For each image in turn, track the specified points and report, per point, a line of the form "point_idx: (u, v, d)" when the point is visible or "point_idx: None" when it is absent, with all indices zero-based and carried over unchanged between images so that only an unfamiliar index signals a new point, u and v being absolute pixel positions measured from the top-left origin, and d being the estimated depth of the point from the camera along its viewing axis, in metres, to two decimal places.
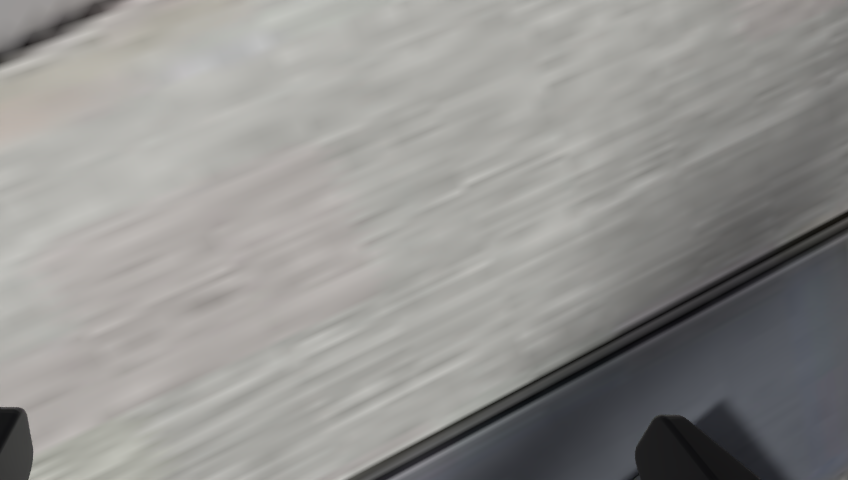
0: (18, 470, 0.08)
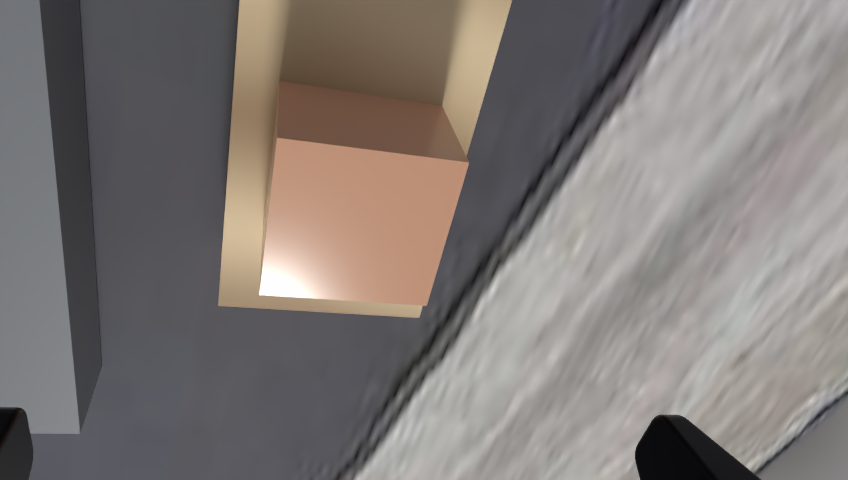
0: (18, 470, 0.08)
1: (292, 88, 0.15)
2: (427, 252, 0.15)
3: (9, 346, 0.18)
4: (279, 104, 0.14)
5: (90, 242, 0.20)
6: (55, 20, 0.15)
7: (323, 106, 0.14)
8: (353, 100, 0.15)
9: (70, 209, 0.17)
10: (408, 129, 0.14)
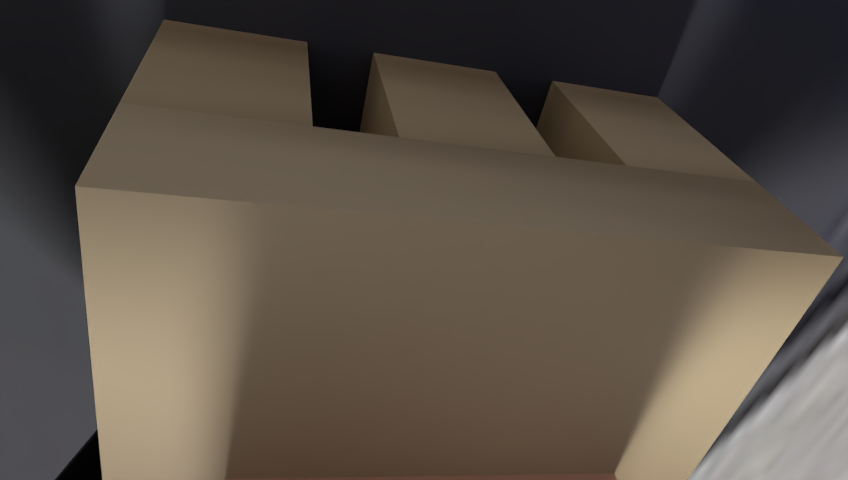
0: None
1: None
2: None
3: None
4: None
5: None
6: None
7: None
8: None
9: None
10: None
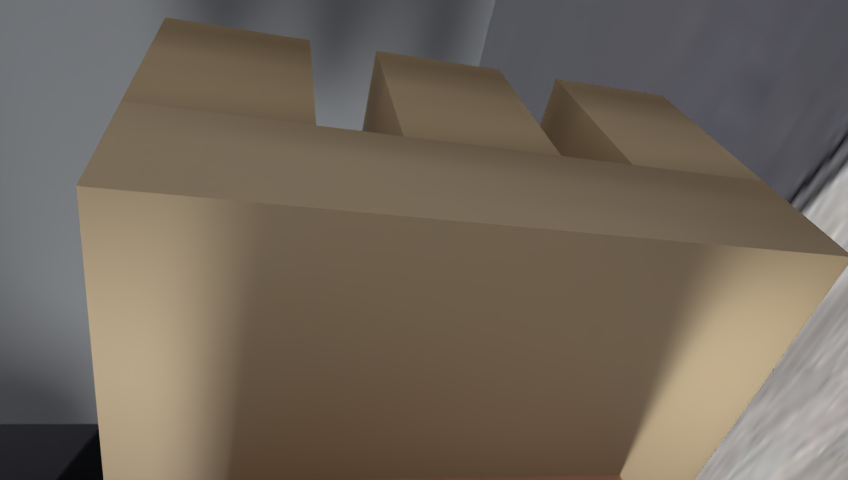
0: None
1: None
2: None
3: None
4: None
5: None
6: None
7: None
8: None
9: None
10: None
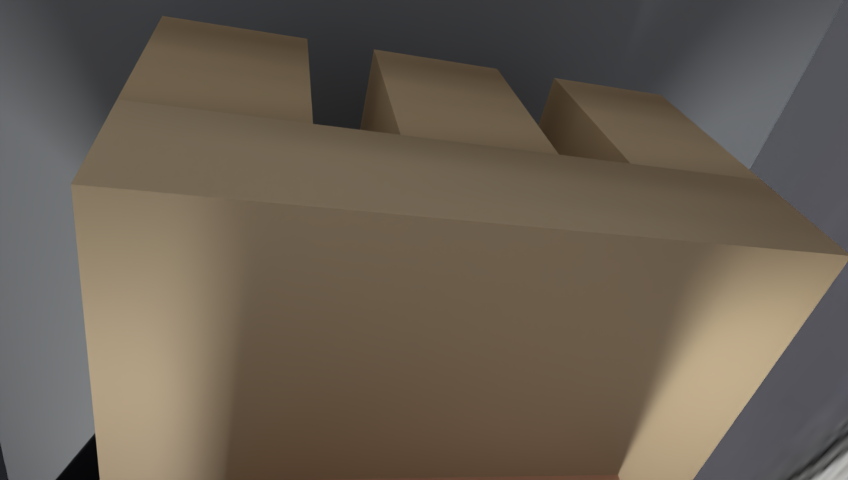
0: None
1: None
2: None
3: None
4: None
5: None
6: None
7: None
8: None
9: None
10: None
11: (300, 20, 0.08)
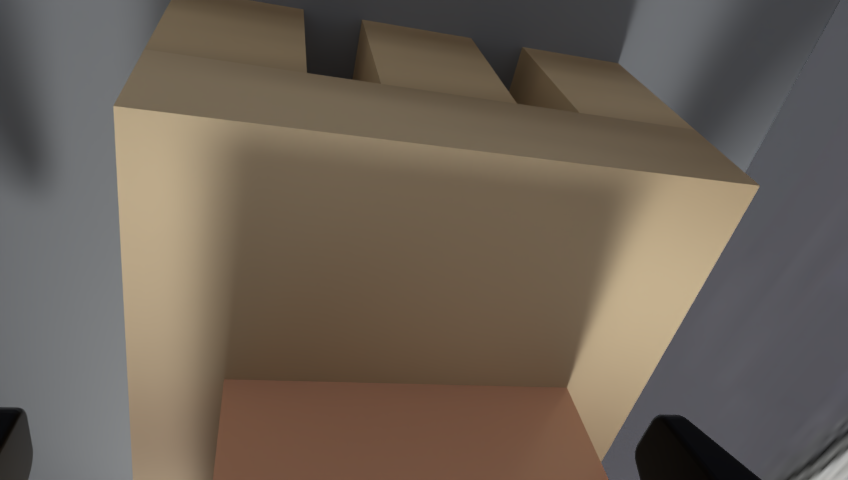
0: (18, 470, 0.08)
1: (253, 403, 0.07)
2: None
3: None
4: None
5: None
6: None
7: (322, 470, 0.06)
8: (388, 420, 0.07)
9: None
10: None
11: None
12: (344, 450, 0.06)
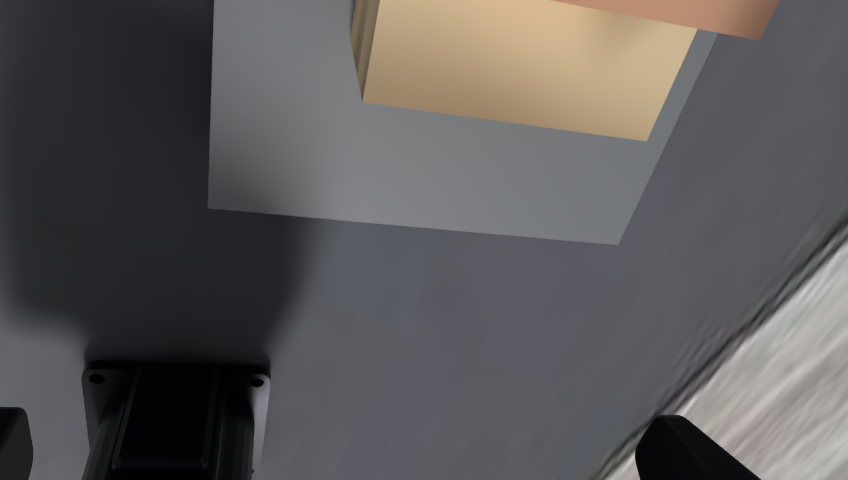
0: (18, 470, 0.08)
1: None
2: None
3: None
4: None
5: None
6: None
7: None
8: None
9: None
10: None
11: None
12: None
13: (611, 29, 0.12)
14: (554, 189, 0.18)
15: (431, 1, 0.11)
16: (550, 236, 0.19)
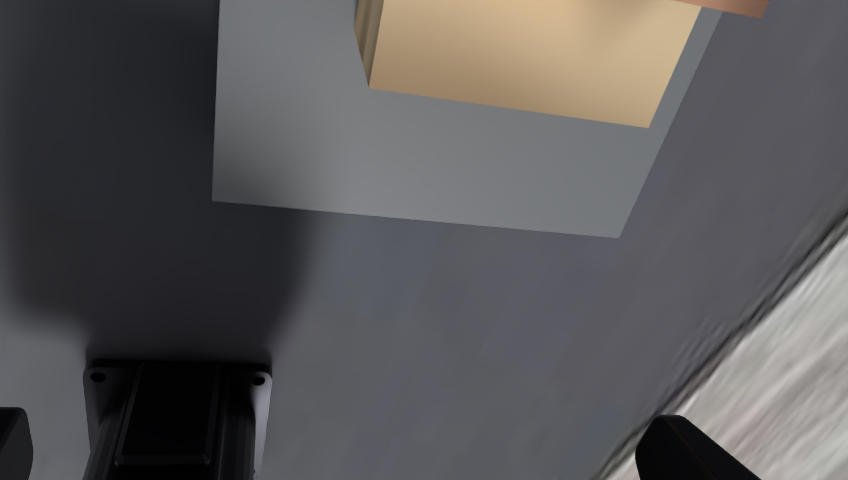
0: (18, 470, 0.08)
1: None
2: None
3: None
4: None
5: None
6: None
7: None
8: None
9: None
10: None
11: None
12: None
13: (613, 15, 0.12)
14: (556, 181, 0.18)
15: None
16: (551, 229, 0.19)
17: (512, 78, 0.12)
